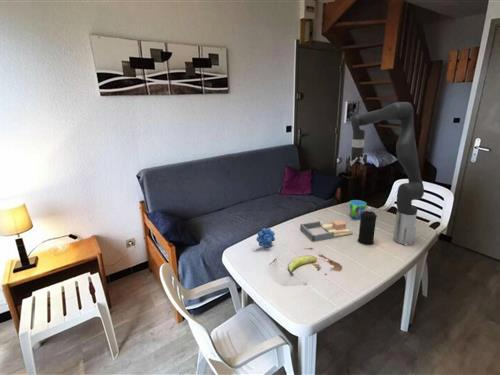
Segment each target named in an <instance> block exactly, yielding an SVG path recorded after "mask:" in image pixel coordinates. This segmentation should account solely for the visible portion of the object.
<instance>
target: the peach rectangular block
mask: <svg viewBox="0 0 500 375" xmlns="http://www.w3.org/2000/svg"><path fill="white" fill-rule="evenodd" d="M331 223H332V227H333V228H334V229H336V230H342V229H346V228H347V223H346V222H344V221H343V220H341V219H340V220H335V221H332V222H331Z"/></svg>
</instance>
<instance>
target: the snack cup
mask: <svg viewBox="0 0 500 375" xmlns="http://www.w3.org/2000/svg"><path fill="white" fill-rule="evenodd" d="M348 204H349V211H350V212H349V214H350V217H351V218H353V219H357V220H358V219H359V220H360V218H361V215H360V214H361V213H362V212H364V211H366V207H367V204H368V203H367V202H366V201H363V200H359V199H352V200H349V203H348Z"/></svg>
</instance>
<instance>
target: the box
mask: <svg viewBox="0 0 500 375" xmlns="http://www.w3.org/2000/svg"><path fill="white" fill-rule="evenodd" d="M320 224H321V221H320V220H319V221H314V222H307V223H301V224H300V227H299V228H300V231H301V232H302V233H303V234H304V235H305V236H306V237H307V238H309V240H311V241H312V243H314V242H315V243H316V242H319V241H323V240H324V241H325V240H329V239H330V240H331V239H334V232H329V233H328V232H325V233H319V234H318V233H317V234H313V233H312V232H311V231H310V229H311V230H312V229H317V228H321V226H320Z"/></svg>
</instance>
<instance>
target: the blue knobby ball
mask: <svg viewBox="0 0 500 375" xmlns="http://www.w3.org/2000/svg"><path fill="white" fill-rule="evenodd" d="M260 230H261V231H258V232H257V237H256V241H257V243H258V246H259V247H263V248H265V249H266V248H268V247H269V246H270V247H271V246H273V242H275V241H276V237H275V233H276V232H275V231H273V230H272V228H271V227H267V228H265V227H263V228H261V229H260Z"/></svg>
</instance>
